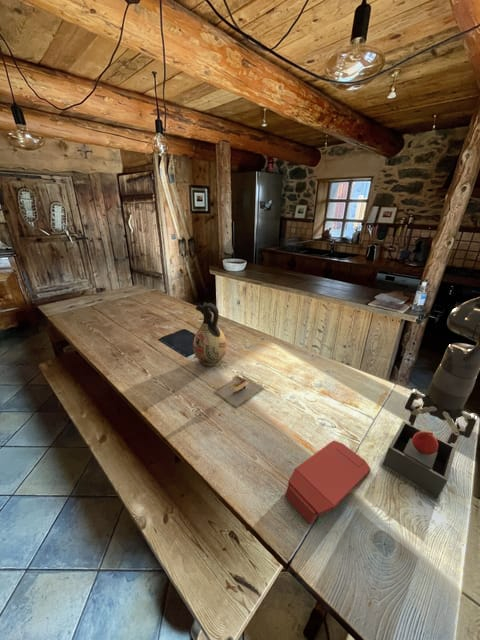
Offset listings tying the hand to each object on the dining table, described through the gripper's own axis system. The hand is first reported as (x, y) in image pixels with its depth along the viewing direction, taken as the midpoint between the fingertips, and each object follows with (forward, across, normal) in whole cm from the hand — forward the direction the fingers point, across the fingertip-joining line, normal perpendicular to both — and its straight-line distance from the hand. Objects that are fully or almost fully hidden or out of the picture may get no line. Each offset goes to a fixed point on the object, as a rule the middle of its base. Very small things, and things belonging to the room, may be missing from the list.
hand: (429, 432), depth 72 cm
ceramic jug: (+14, +82, +8) cm, 84 cm away
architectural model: (+14, +59, +13) cm, 62 cm away
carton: (+14, +16, +22) cm, 31 cm away
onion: (+8, 0, 0) cm, 8 cm away
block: (+13, 0, 0) cm, 13 cm away
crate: (+14, 0, 0) cm, 14 cm away
